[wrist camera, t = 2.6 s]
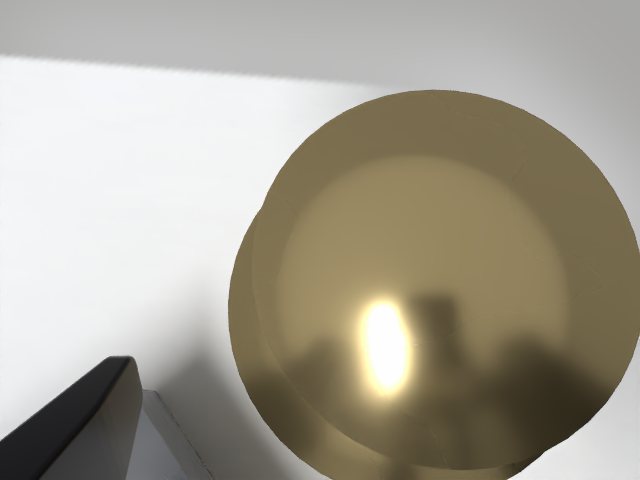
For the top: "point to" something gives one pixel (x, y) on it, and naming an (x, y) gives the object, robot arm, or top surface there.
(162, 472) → the scale
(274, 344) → the weight
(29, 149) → the top surface
